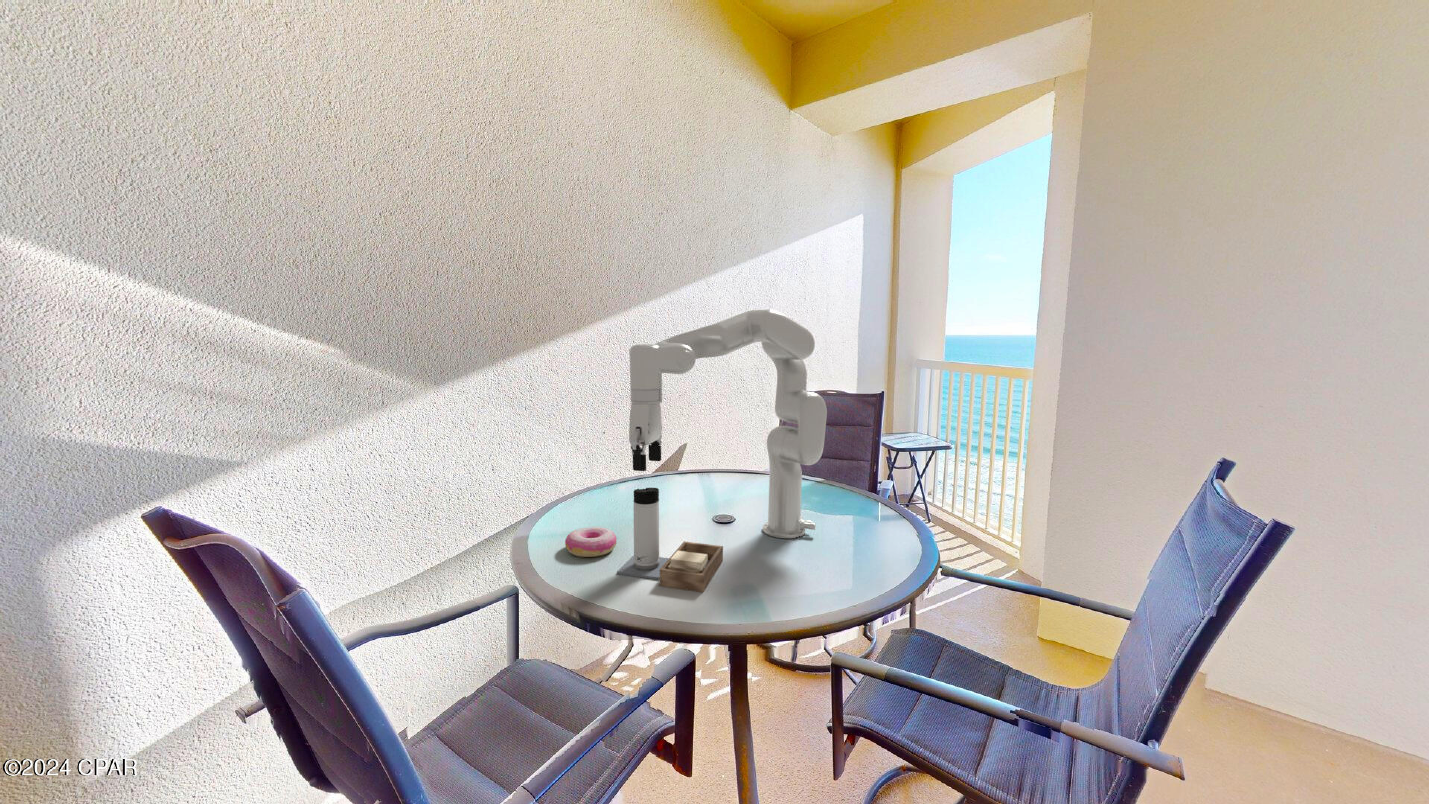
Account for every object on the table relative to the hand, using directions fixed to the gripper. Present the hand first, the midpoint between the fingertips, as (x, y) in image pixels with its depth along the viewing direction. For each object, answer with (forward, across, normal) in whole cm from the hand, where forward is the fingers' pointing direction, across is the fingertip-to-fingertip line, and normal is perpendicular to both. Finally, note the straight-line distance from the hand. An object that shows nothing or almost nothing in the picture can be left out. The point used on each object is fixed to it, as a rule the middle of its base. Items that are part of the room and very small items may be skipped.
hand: (647, 465), depth 131 cm
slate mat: (+26, +1, 0) cm, 26 cm away
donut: (+26, -5, -19) cm, 33 cm away
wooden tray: (+26, 0, +12) cm, 29 cm away
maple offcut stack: (+26, +4, +12) cm, 29 cm away
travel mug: (+26, +1, 0) cm, 26 cm away
